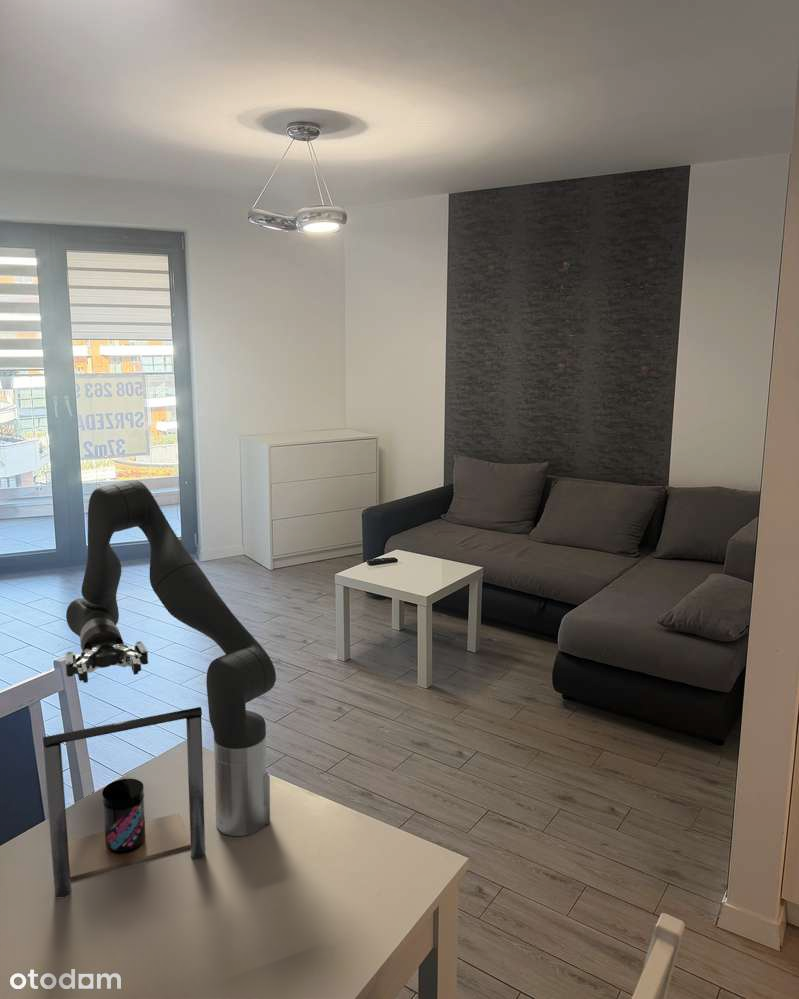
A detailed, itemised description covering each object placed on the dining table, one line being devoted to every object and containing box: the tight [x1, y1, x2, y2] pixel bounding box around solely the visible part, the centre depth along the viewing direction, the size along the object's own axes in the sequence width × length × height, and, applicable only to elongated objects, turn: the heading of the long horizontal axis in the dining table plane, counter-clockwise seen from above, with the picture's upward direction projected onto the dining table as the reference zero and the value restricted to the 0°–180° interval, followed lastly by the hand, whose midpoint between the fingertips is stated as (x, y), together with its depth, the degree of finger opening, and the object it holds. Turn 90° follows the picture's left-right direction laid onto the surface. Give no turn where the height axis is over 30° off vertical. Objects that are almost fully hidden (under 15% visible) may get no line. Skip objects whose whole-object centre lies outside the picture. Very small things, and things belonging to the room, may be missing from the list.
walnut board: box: [68, 812, 191, 881], centre depth 132 cm, size 20×10×1 cm, turn 117°
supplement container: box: [101, 778, 146, 854], centre depth 130 cm, size 7×7×10 cm
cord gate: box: [42, 706, 206, 899], centre depth 122 cm, size 24×2×27 cm, turn 117°
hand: (111, 673), depth 135 cm, fingers open, 8 cm apart
